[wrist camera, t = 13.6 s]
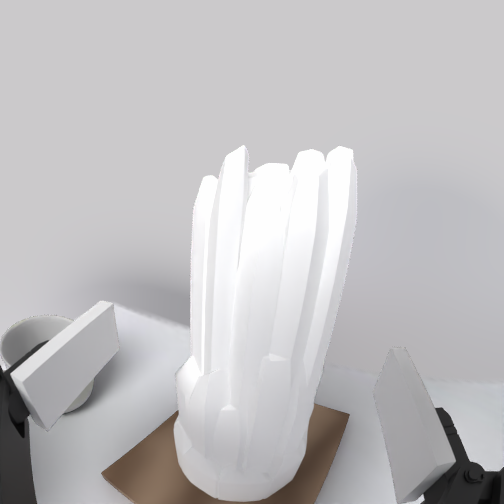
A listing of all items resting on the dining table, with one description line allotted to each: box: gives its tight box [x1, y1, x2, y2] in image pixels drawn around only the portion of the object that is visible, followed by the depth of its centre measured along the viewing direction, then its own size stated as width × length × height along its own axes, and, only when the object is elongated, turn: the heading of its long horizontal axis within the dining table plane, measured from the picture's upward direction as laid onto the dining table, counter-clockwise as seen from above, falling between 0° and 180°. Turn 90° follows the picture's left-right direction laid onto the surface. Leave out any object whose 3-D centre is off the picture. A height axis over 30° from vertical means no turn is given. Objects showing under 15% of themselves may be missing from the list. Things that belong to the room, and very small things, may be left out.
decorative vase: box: [173, 145, 357, 502], centre depth 17 cm, size 11×11×25 cm
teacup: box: [0, 315, 94, 413], centre depth 22 cm, size 14×11×8 cm
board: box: [101, 404, 350, 504], centre depth 21 cm, size 16×20×1 cm
